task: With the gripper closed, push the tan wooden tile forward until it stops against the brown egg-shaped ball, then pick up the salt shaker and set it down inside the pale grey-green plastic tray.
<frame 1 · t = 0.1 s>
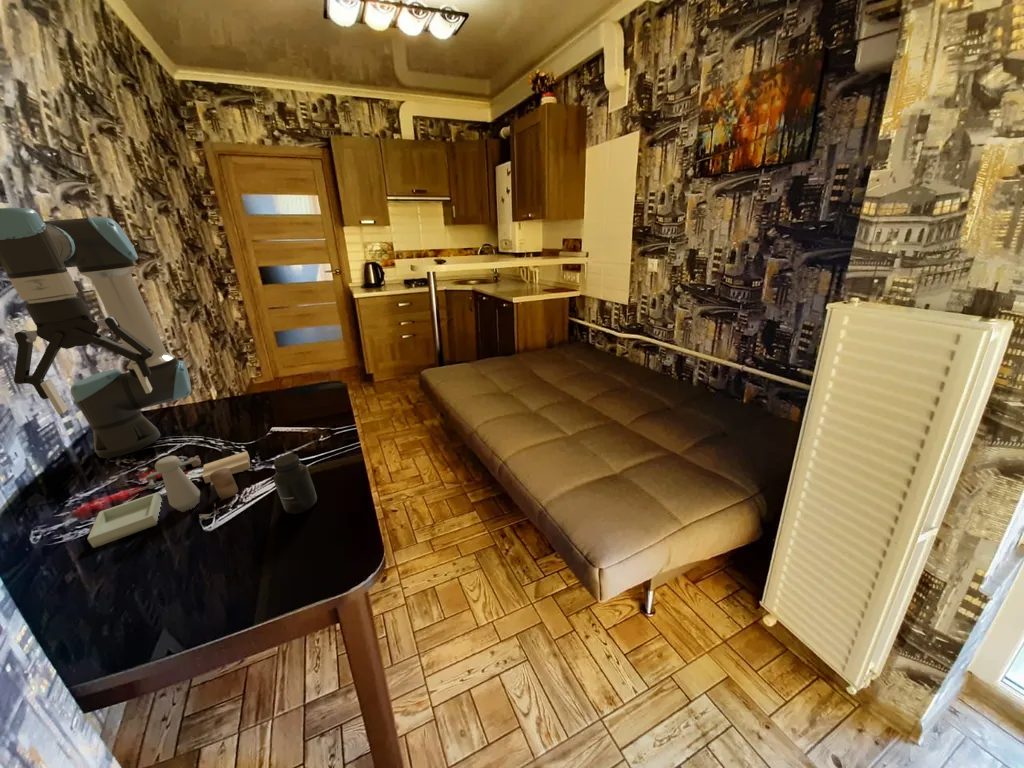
hand: (108, 401, 84), 28 cm above the table, fingers open, 13 cm apart
salt shaker: (189, 506, 95), on the table
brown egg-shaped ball: (228, 493, 98), on the table
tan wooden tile: (229, 470, 108), on the table
supplement bottle: (302, 505, 91), on the table
tray: (130, 522, 91), on the table
clamp: (168, 477, 108), on the table
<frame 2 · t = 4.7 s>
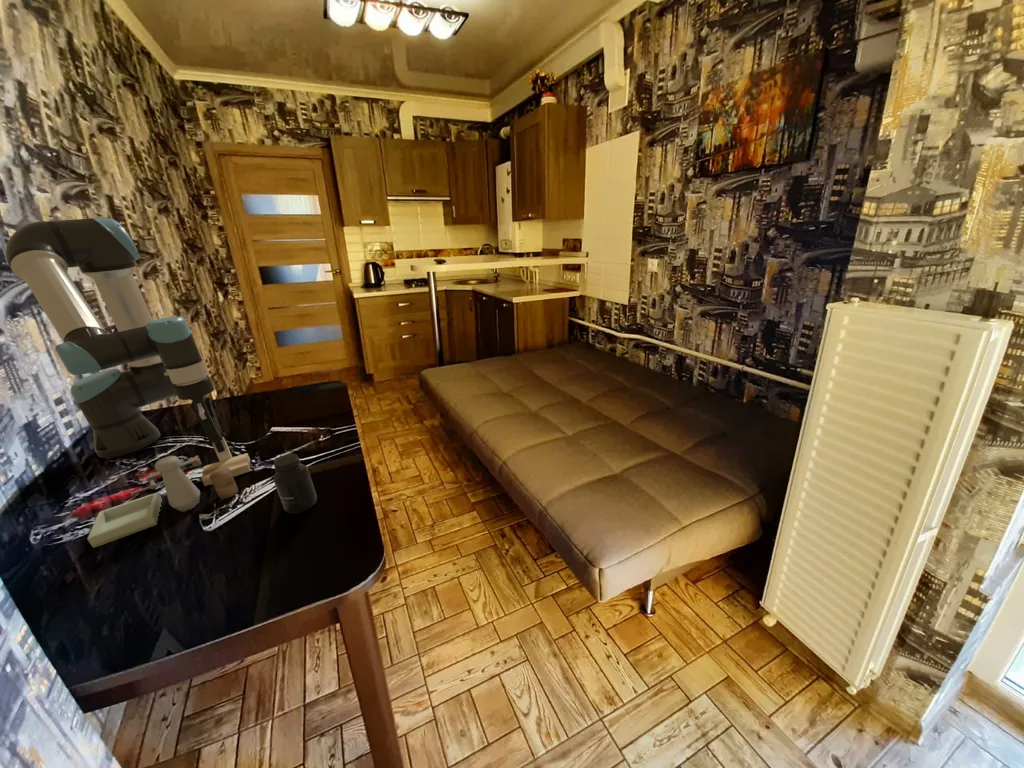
hand: (226, 459, 109), 2 cm above the table, fingers closed
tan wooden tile: (228, 473, 107), on the table
everything else where it was.
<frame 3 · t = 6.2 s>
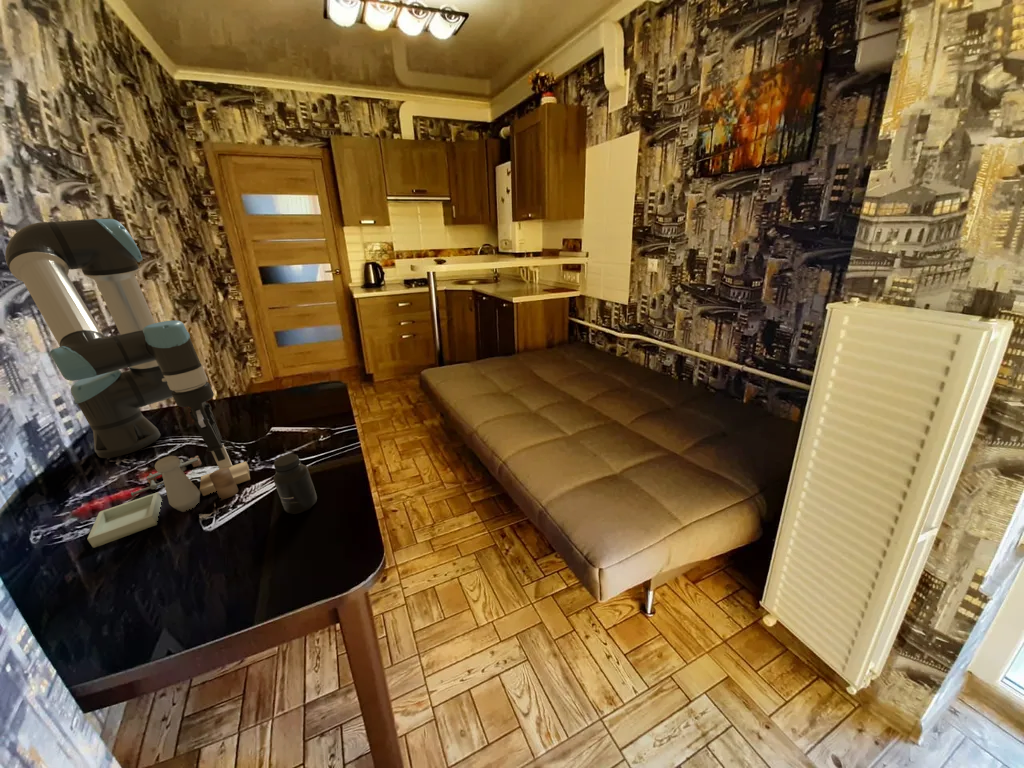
hand: (226, 468, 106), 1 cm above the table, fingers closed
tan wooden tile: (227, 482, 103), on the table
everything else where it was.
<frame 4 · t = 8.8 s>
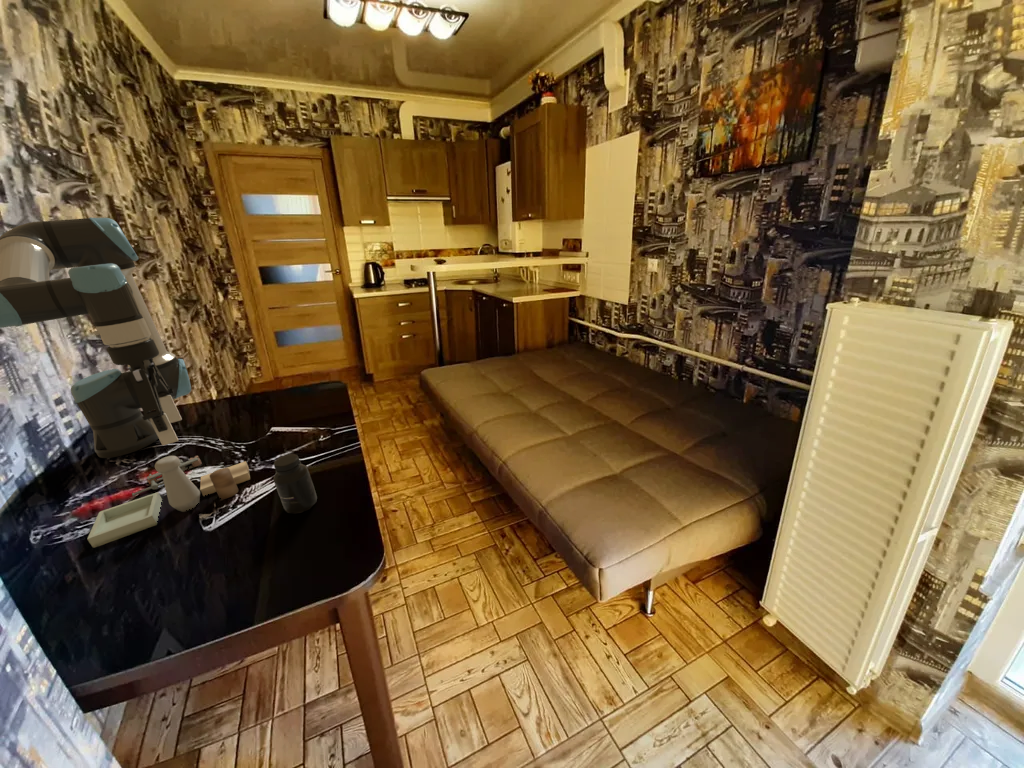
hand: (173, 431, 92), 17 cm above the table, fingers open, 13 cm apart
nothing on the table moved.
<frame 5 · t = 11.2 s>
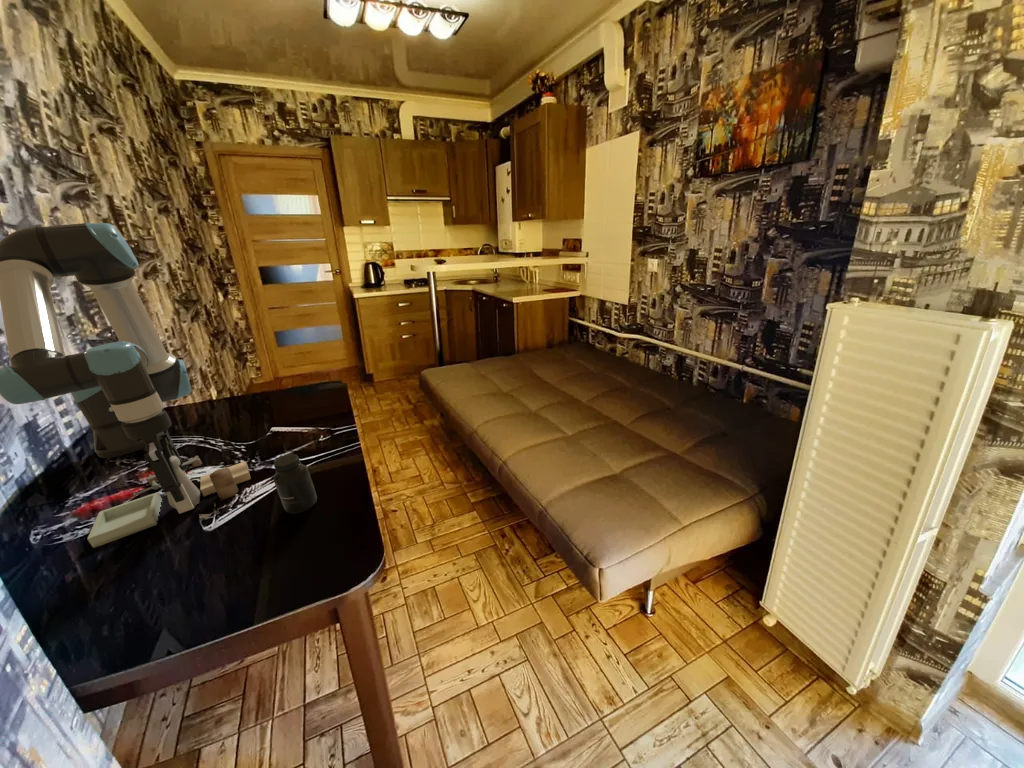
hand: (187, 502, 94), 1 cm above the table, fingers closed on salt shaker, 6 cm apart
salt shaker: (189, 506, 95), on the table, touching gripper
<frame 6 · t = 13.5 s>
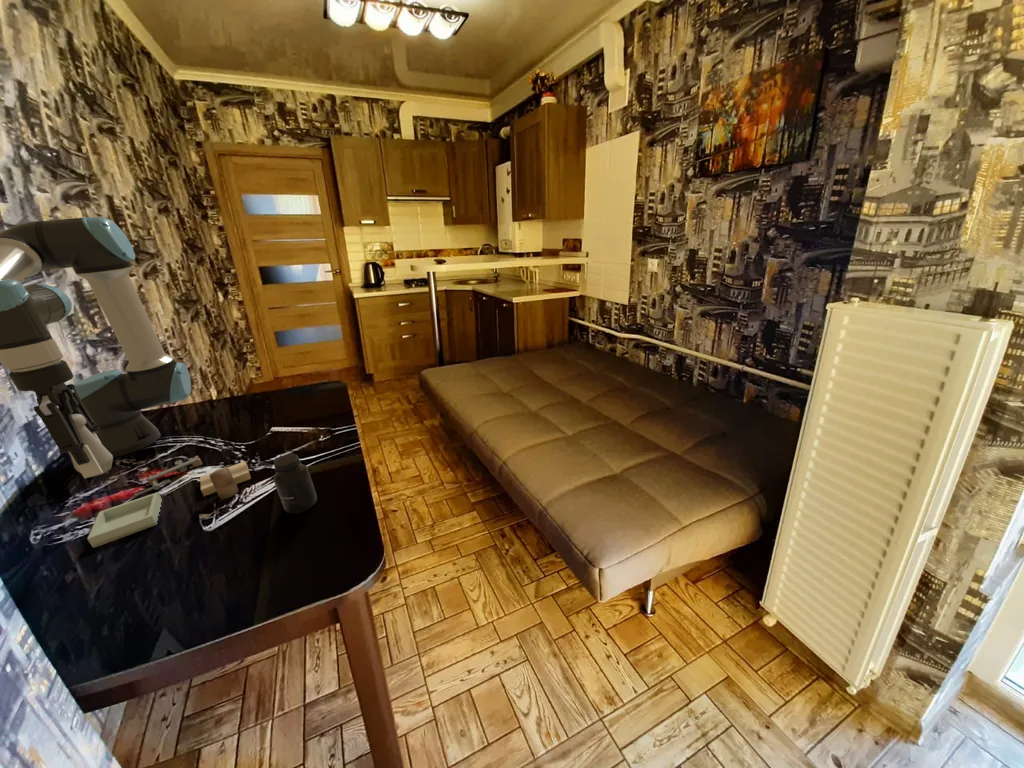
hand: (97, 467, 85), 15 cm above the table, fingers closed on salt shaker, 6 cm apart
salt shaker: (100, 471, 85), point 14 cm above the table, touching gripper
when the fingers open (3 cm above the table, at t = 15.8 s): salt shaker drops 1 cm, resting on tray.
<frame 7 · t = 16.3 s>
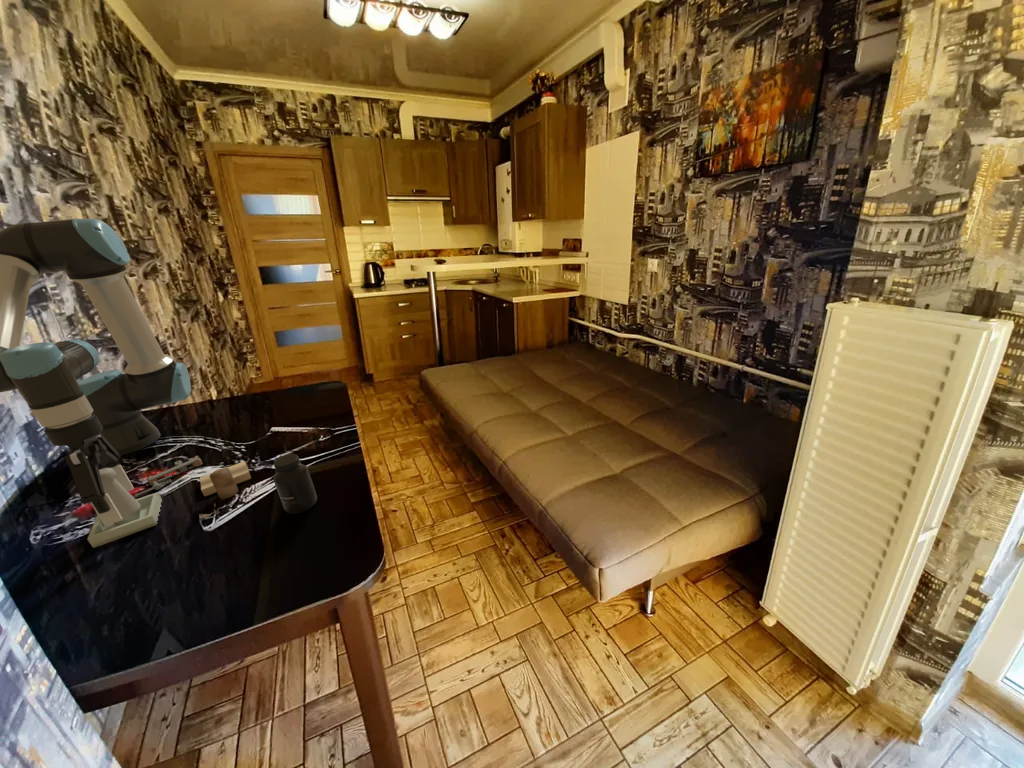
hand: (120, 505, 89), 5 cm above the table, fingers open, 13 cm apart
salt shaker: (129, 520, 91), point 1 cm above the table, touching tray
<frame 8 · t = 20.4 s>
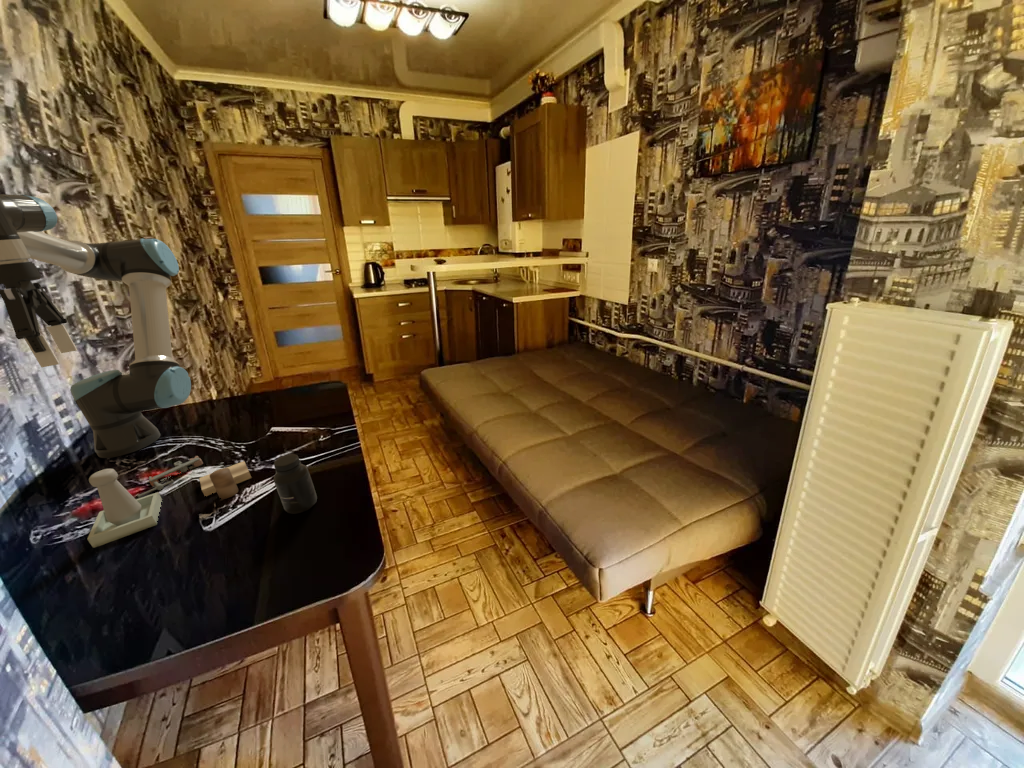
hand: (60, 358, 93), 35 cm above the table, fingers open, 13 cm apart
at the end: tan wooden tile inside the target area (1.5 cm from its centre), on the table; salt shaker 0.0 cm from the tray (horizontally); salt shaker tilted 0° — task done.
